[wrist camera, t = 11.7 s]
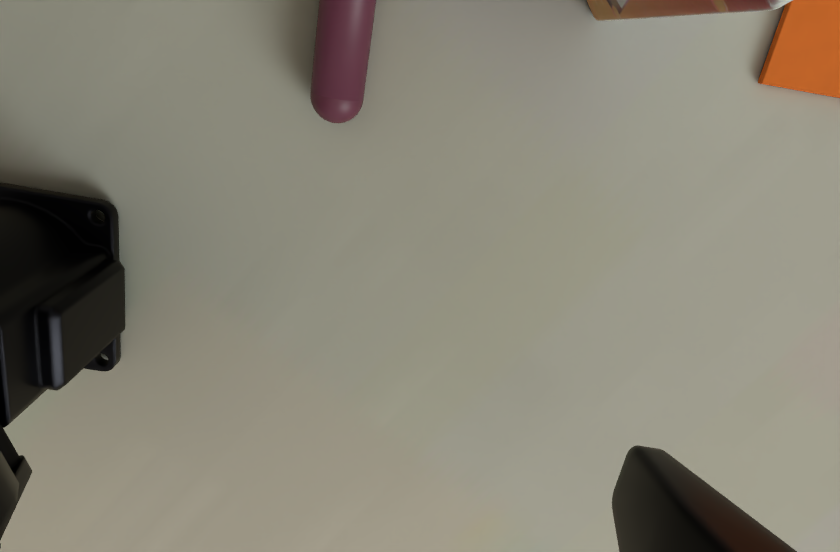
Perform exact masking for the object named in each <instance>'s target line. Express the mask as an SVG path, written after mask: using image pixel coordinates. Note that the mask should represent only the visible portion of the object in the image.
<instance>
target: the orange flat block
mask: <svg viewBox="0 0 840 552" xmlns="http://www.w3.org/2000/svg"><path fill="white" fill-rule="evenodd" d="M758 83H760V84H766V85H771V86H777V87H782V88H788V89H793V90H799V91H804V92H810V93H815V94H821V95H826V96H832V97H837V98H840V0H793V1H791V2H789V3H787V4H785V7H784V10H783V13H782V16H781V18H780V21H779V24H778V27H777V30H776V32H775V35H774V38H773V41H772V44H771V46H770V49H769V52H768V55H767V58H766V60H765V63H764V66H763V69H762V72H761V74H760V77H759V80H758Z"/></svg>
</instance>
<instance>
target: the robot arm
mask: <svg viewBox="0 0 840 552" xmlns="http://www.w3.org/2000/svg"><path fill="white" fill-rule="evenodd" d="M96 210H99V211H101V212H102V213H103V214H104V216H105V221H102V220H100V219H99V218H98V217H97V215H96ZM124 329H125V273H124V267H123V265H122V264H121V262H120V261H119V226H118V212H117V210H116V208H115V207H114V205H112V204H111V203H110V202H108V201H105V200H102V199H96V198H90V197H84V196H78V195H72V194H66V193H60V192H54V191H48V190H42V189H36V188H30V187H24V186H18V185H12V184H6V183H0V540H1V538H2V535H3V533H4V531H5V529H6V527H7V525H8V523H9V520H10V518H11V516H12V514H13V512H14V510H15V508H16V505H17V503H18V501H19V499H20V497H21V495H22V493H23V490H24V488H25V486H26V484H27V482H28V480H29V478H30V475H31V473H32V470H31V468H30V466H29V464H28V463H27V461H26V459H25V457H24V456H23V455H20V456H19V455H18V454H17V452H16V450H15V448H14V447H13V445H12V443H11V441H10V440H9V438H8V436H7V434H6V433H5V431H4V429H3V427H6V426H7V425H8V424H9V423H11V422H12V421H13V420H14V419H15V418H16V417H17V416H18V415H19V414H20V413H22V412H23V411H24V410H25V409H26V408H27V407H28V406H29V405H30V404H32V403H33V402H34V401H35V400H36V399H37V398H38V397H39V396H40V395H41V394H43V393H44V392H45V391H46V390H47V389H50V390H59V389H61V388H62V387H63V386H65V385H66V384H67V383H68V382H69V381H70V380H71V379H72V378H74V377H75V376H76V375H77V374H78V373H79V372H80V371H81V370H82V369H83V368H85V369H91V370H98V371H109V370H111V369H112V368H113V367H114V366H115V365H116V364H117V363H118V362H119V361H120V357H121V351H120V333H121V332H122V331H123V330H124ZM100 353H102V354H105V355H106V356H107V357H108V360H105V359H103V358H102V357H101V354H100ZM612 509H613V516H614V522H615V528H616V534H617V540H618V545H619V551H620V552H797V551H795V550H794V549H793V548H791V547H790V546H789V545H788V544H786V543H785V542H784V541H782V540H781V539H780V538H778V537H777V536H776V535H774V534H773V533H772V532H770V531H769V530H768V529H766V528H765V527H764V526H762V525H761V524H760V523H759V522H757V521H756V520H755V519H753V518H752V517H751V516H749V515H748V514H747V513H745V512H744V511H743V510H741V509H740V508H739V507H737V506H736V505H735V504H734V503H732V502H731V501H730V500H728V499H727V498H726V497H724V496H723V495H722V494H720V493H719V492H718V491H716V490H715V489H714V488H712V487H711V486H710V485H708V484H707V483H706V482H705V481H703V480H702V479H701V478H699V477H698V476H697V475H695V474H694V473H693V472H691V471H690V470H689V469H687V468H686V467H685V466H683V465H682V464H681V463H680V462H678V461H677V460H676V459H674V458H673V457H672V456H670V455H669V454H668V453H666V452H665V451H663V450H661V449H657V448H650V447H643V446H634V447H632V448H631V449H630V450H629V451H628V453H627V455H626V458H625V461H624V464H623V467H622V469H621V472H620V475H619V478H618V480H617V483H616V486H615V489H614V492H613V497H612ZM0 548H1V544H0Z"/></svg>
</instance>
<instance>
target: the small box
mask: <svg viewBox="0 0 840 552" xmlns="http://www.w3.org/2000/svg"><path fill="white" fill-rule="evenodd" d="M791 1H793V0H587V2H588V5H589V7H590V9H591V12H592V14H593V16H594V17H595V19H596V20H598V21H613V20H628V19H646V18H664V17H675V16H684V15H701V14H721V13H735V12H755V11H768V10H775V9H778V8H780V7H782V6H783V5H785V4H787V3H789V2H791Z"/></svg>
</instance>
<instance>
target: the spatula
mask: <svg viewBox="0 0 840 552" xmlns="http://www.w3.org/2000/svg"><path fill="white" fill-rule="evenodd" d="M375 4H376V0H319V10H318V21H317V31H316V41H315V51H314V62H313V72H312V82H311V102H312V105H313V108H314V109H315V111H316V112H317V113H318V114H319V116H320V117H322V118H323V119H325V120H327V121H329V122H332V123H343V122H346V121H349V120H351V119H352V118H354V117H355V116H356V115H357V114H358V112H359V111H360V109H361V106H362V103H363V97H364V90H365V82H366V74H367V66H368V59H369V51H370V43H371V35H372V28H373V20H374V12H375Z"/></svg>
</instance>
